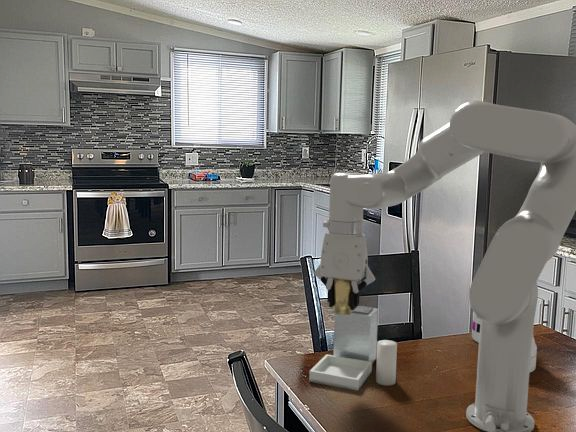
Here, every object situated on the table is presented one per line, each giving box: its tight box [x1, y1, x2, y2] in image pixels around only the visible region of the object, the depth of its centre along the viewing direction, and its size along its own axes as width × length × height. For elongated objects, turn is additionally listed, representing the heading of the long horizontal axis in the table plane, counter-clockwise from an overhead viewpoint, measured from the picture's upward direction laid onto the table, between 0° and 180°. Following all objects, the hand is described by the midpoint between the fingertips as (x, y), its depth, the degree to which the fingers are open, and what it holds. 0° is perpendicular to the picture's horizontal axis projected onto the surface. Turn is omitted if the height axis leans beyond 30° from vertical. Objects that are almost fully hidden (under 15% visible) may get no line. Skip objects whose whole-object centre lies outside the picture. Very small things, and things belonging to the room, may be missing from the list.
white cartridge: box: [375, 339, 398, 386], centre depth 131 cm, size 4×4×9 cm
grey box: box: [333, 305, 379, 364], centre depth 143 cm, size 7×9×13 cm
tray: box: [308, 353, 373, 392], centre depth 133 cm, size 11×11×2 cm
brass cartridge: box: [332, 279, 353, 315], centre depth 131 cm, size 4×4×9 cm
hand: (343, 306), depth 131 cm, fingers closed on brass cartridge, 4 cm apart
